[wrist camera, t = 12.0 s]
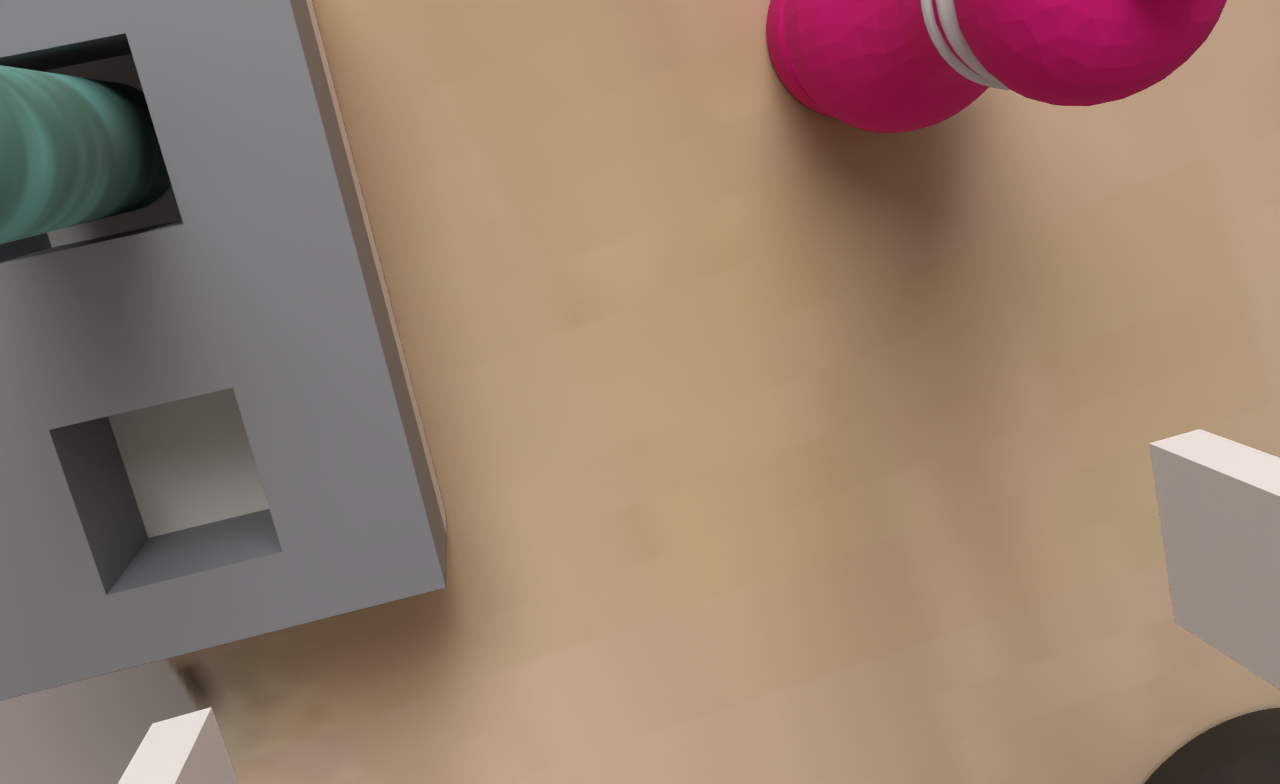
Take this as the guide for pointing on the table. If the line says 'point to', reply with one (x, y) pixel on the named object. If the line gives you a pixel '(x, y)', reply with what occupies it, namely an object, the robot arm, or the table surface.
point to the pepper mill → (975, 52)
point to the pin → (73, 152)
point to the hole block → (203, 363)
